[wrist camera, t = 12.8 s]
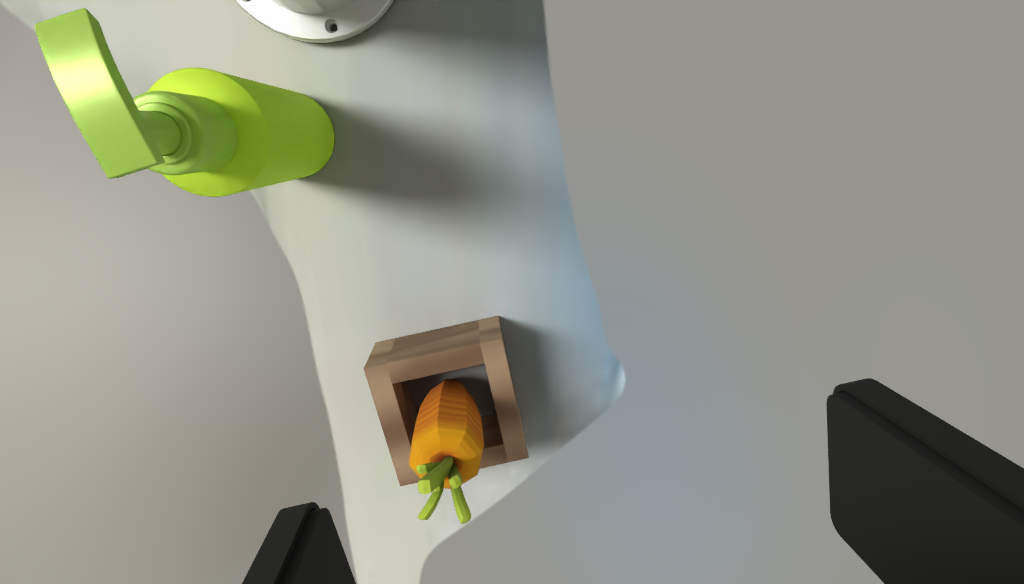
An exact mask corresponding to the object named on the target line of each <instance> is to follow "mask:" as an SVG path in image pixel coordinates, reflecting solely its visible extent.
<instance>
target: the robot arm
mask: <svg viewBox="0 0 1024 584" xmlns="http://www.w3.org/2000/svg"><path fill="white" fill-rule="evenodd" d="M235 1H236V2H237V3H238V5H239V6H240V7H241V8H242V9H243V10H244V11H246V12H247V13H248V14H249V15H250V16H252V17H253V18H254V19H255V20H257V21H258V22H259V23H261V24H263V25H264V26H266V27H268V28H269V29H271V30H273V31H275V32H277V33H279V34H282V35H284V36H286V37H288V38H292V39H296V40H300V41H304V42H313V43H329V42H335V41H342V40H345V39H348V38H350V37H353V36H355V35H358V34H360V33H362V32H363V31H365V30H366V29H368V28H369V27H371V26H372V25H374V24H375V23H376V22H377V21H378V20H379V19H380V18H381V17H382V16H383V15H384V14H385V13H386V12H387V10H388V9H389V7H390V6H391V4H392V3H393V1H394V0H251V1H250V2H249V1H248V0H235ZM332 25H337V27H338V29H337V31H336V32H332V30H331V27H332ZM827 428H828V458H829V487H830V513H831V519H832V522H833V524H834V527H835V529H836V530H837V532H838V534H839V535H840V536H841V537H842V538H843V539H844V541H845V542H846V543H847V544H848V545H849V546H850V547H851V548H852V549H853V550H854V551H855V552H856V553H857V555H858V556H860V558H861V559H862V560H863V561H864V562H865V563H866V564H867V565H868V566H869V567H870V568H871V570H872V571H873V572H874V573H875V574H876V575H877V576H878V577H879V578H880V579H881V580H882V581H883V582H884V584H1024V468H1022V467H1020V466H1018V465H1017V464H1015V463H1013V462H1012V461H1010V460H1008V459H1007V458H1005V457H1003V456H1002V455H1000V454H998V453H997V452H995V451H993V450H992V449H990V448H988V447H987V446H985V445H983V444H982V443H980V442H978V441H977V440H975V439H973V438H972V437H970V436H968V435H966V434H965V433H963V432H962V431H960V430H958V429H956V428H955V427H953V426H951V425H950V424H948V423H946V422H945V421H943V420H941V419H940V418H938V417H936V416H935V415H933V414H931V413H930V412H928V411H926V410H925V409H923V408H921V407H920V406H918V405H916V404H915V403H913V402H911V401H910V400H908V399H906V398H904V397H903V396H901V395H899V394H898V393H896V392H894V391H893V390H891V389H890V388H888V387H886V386H884V385H883V384H881V383H879V382H878V381H876V380H873V379H863V380H858V381H854V382H849V383H845V384H840V385H838V386H836V387H835V389H834V392H833V395H830V396H829V397H828V399H827ZM242 584H356V583H355V580H354V577H353V575H352V572H351V569H350V566H349V564H348V561H347V558H346V555H345V552H344V550H343V547H342V544H341V542H340V539H339V536H338V533H337V530H336V528H335V525H334V522H333V519H332V517H331V514H330V512H329V510H328V509H327V508H322V509H320V508H319V506H318V505H317V504H316V503H314V502H311V503H307V504H302V505H298V506H293V507H288V508H284V509H282V510H280V511H279V513H278V515H277V517H276V518H275V520H274V522H273V524H272V526H271V528H270V530H269V532H268V534H267V536H266V538H265V540H264V542H263V544H262V546H261V548H260V550H259V551H258V553H257V555H256V557H255V559H254V561H253V563H252V566H251V567H250V569H249V571H248V573H247V575H246V577H245V579H244V581H243V583H242Z"/></svg>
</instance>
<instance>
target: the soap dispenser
mask: <svg viewBox="0 0 1024 584" xmlns="http://www.w3.org/2000/svg"><path fill="white" fill-rule="evenodd" d="M35 30H36V34H37V37H38V40H39V43H40V46H41V48H42V51H43V54H44V57H45V59H46V62H47V64H48V67H49V69H50V72H51V74H52V77H53V79H54V81H55V83H56V85H57V88H58V89H59V92H60V94H61V96H62V98H63V100H64V102H65V104H66V106H67V108H68V109H69V111H70V113H71V115H72V117H73V119H74V120H75V122H76V124H77V126H78V128H79V129H80V131H81V133H82V134H83V136H84V138H85V140H86V142H87V143H88V145H89V146H90V148H91V150H92V152H93V153H94V155H95V157H96V159H97V160H98V162H99V164H100V165H101V167H102V169H103V170H104V172H105V174H106V175H107V177H108V178H109V179H111V178H119V177H122V176H125V175H128V174H131V173H135V172H138V171H140V170H144V169H147V168H148V169H149V170H152V171H154V172H157V173H160V174H162V175H163V176H164V177H165V178H166V179H168V180H169V181H170V182H172V183H173V184H175V185H176V186H178V187H180V188H181V189H184V190H186V191H188V192H191V193H194V194H197V195H202V196H211V197H219V196H226V195H231V194H235V193H239V192H243V191H248V190H252V189H256V188H260V187H264V186H269V185H273V184H277V183H281V182H285V181H290V180H294V179H298V178H302V177H306V176H310V175H312V174H314V173H316V172H318V171H319V170H320V169H322V168H323V167H324V166H325V165H326V163H327V162H328V161H329V159H330V157H331V155H332V152H333V148H334V141H335V138H334V130H333V126H332V123H331V121H330V119H329V117H328V115H327V113H326V112H325V111H324V109H323V108H322V107H321V106H320V105H319V104H318V103H317V102H316V101H314V100H313V99H311V98H310V97H308V96H306V95H304V94H301V93H297V92H294V91H290V90H286V89H282V88H278V87H275V86H271V85H267V84H263V83H259V82H256V81H252V80H248V79H244V78H240V77H236V76H233V75H229V74H225V73H221V72H217V71H214V70H210V69H204V68H184V69H180V70H176V71H173V72H171V73H169V74H167V75H165V76H163V77H162V78H160V79H159V80H158V81H157V82H156V83H154V85H153V86H152V87H151V88H150V89H149V91H148V92H145V93H142V94H140V95H138V96H136V97H135V98H134V99H133V98H132V96H131V95H130V93H129V91H128V89H127V87H126V85H125V83H124V81H123V79H122V77H121V75H120V73H119V70H118V68H117V66H116V64H115V62H114V60H113V57H112V55H111V53H110V50H109V48H108V45H107V43H106V40H105V37H104V35H103V32H102V29H101V27H100V24H99V22H98V21H97V20H96V19H95V18H94V16H93V15H92V14H91V13H90V12H89V11H88V10H87V9H86V8H82V9H79V10H76V11H73V12H69V13H66V14H63V15H60V16H57V17H54V18H51V19H48V20H45V21H42V22H39V23H37V24H35Z"/></svg>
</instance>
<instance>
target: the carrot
mask: <svg viewBox="0 0 1024 584" xmlns="http://www.w3.org/2000/svg"><path fill="white" fill-rule="evenodd" d="M483 448H484V439H483V429H482V423H481V416H480V413H479V410H478V408H477V405H476V403H475V401H474V399H473V397H472V396H471V395H470V393H469V392H468V391H467V389H466V388H465V387H464V386H463V384H462V383H461V382H460V381H457V380H452V379H446V380H444V381H443V382H441V383H440V384H438V385H437V386H435V387H434V388H433V389H431V390H430V391H429V393H428V394H427V396H426V397H425V399H424V400H423V402H422V404H421V406H420V409H419V412H418V416H417V420H416V424H415V428H414V433H413V438H412V444H411V450H410V456H409V465H410V467H411V469H412V470H413V471H414V472H415V473H416V474H417V475H418V477H419V478H420V480H419V482H418V489H419V492H420V493H421V494H427V493H431V492H432V491H433V493H432V495H431V497H430V498H429V500H428V502H427V504H426V505H425V507H424V508H423V509H422V511H421V512H420V514H419V516H418V518H419V519H421V520H427V519H428V518H429V517H430V516H431V514H432V513H433V511H434V510H435V508H436V506H437V504H438V502H439V500H440V497H441V495H442V492H443V488H448V489H451V492H452V497H453V501H454V506H455V510H456V513H457V516H458V518H459V520H460V522H461V524H464V523H466V522H468V521H469V520H470V519H471V513H470V510H469V508H468V505H467V503H466V500H465V497H464V495H463V492H462V489H461V486H460V485H462V484H463V483H465V482H467V481H468V480H470V479H471V478H473V477H475V476H476V475H477V474H478V471H479V467H480V462H481V457H482V452H483Z"/></svg>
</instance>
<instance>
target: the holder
mask: <svg viewBox="0 0 1024 584" xmlns="http://www.w3.org/2000/svg"><path fill="white" fill-rule="evenodd" d="M480 364H485V367H486V371H487V375H488V380H489V384H490V388H491V392H492V396H493V401H494V405H495V409H496V413H492V414H488V415H483V416H481V423H482V429H483V439H484V448H483V452H482V457H481V462H480V467H479V469H480V468H485V467H489V466H494V465H498V464H503V463H507V462H512V461H516V460H521V459H525V458H529V457H528V451H527V446H526V441H525V435H524V430H523V424H522V420H521V415H520V411H519V406H518V402H517V397H516V393H515V389H514V384H513V380H512V375H511V371H510V366H509V362H508V357H507V353H506V348H505V344H504V339H503V335H502V330H501V326H500V321H499V317H498V316H496V317H491V318H486V319H482V320H477V321H473V322H468V323H463V324H459V325H454V326H450V327H445V328H441V329H436V330H431V331H427V332H422V333H418V334H413V335H409V336H404V337H399V338H395V339H390V340H386V341H381V342H376V343H375V345H374V348H373V350H372V352H371V354H370V356H369V358H368V361H367V363H366V365H365V367H364V371H365V374H366V377H367V381H368V384H369V387H370V390H371V393H372V397H373V400H374V403H375V406H376V409H377V413H378V416H379V419H380V422H381V425H382V429H383V432H384V435H385V438H386V442H387V445H388V448H389V451H390V454H391V458H392V461H393V464H394V467H395V470H396V474H397V477H398V480H399V483H400V486H404V485H408V484H413V483H417V482H419V480H420V478H419V477H418V475H417V474H416V473H415V472H414V471H413V470H412V469H411V467H410V465H409V456H410V450H411V444H412V438H413V433H414V428H415V424H416V420H417V416H418V415H417V412H416V408H415V405H414V401H413V398H412V394H411V391H410V387H409V384H408V381H407V380H412V379H416V378H421V377H425V376H430V375H435V374H439V373H444V372H448V371H453V370H457V369H462V368H466V367H471V366H475V365H480Z"/></svg>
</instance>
